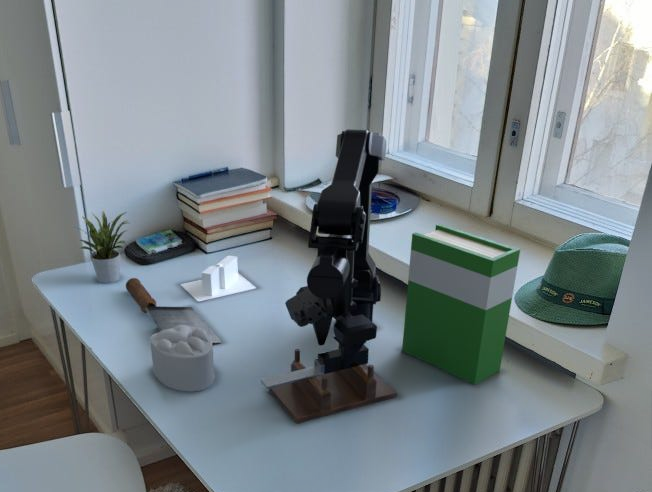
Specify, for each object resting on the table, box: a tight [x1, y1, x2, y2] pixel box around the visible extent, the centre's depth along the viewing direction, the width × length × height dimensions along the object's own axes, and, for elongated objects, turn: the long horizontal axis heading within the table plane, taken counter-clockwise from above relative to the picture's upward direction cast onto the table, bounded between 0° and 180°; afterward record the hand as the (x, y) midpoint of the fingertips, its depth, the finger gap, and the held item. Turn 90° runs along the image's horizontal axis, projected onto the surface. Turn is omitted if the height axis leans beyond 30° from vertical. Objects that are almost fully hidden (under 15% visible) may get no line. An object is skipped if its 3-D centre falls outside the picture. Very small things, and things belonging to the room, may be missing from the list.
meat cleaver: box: [125, 277, 223, 344], centre depth 169 cm, size 34×11×4 cm, turn 23°
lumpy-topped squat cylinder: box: [149, 325, 215, 392], centre depth 146 cm, size 10×13×9 cm
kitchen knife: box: [260, 344, 370, 390], centre depth 136 cm, size 20×3×3 cm, turn 112°
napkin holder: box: [180, 255, 257, 302], centre depth 181 cm, size 15×11×6 cm
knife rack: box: [268, 343, 398, 424], centre depth 139 cm, size 20×12×8 cm, turn 112°
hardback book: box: [401, 223, 521, 385], centre depth 143 cm, size 18×7×24 cm, turn 38°
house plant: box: [74, 211, 130, 284], centre depth 184 cm, size 14×14×16 cm
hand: (333, 356), depth 137 cm, fingers open, 9 cm apart
